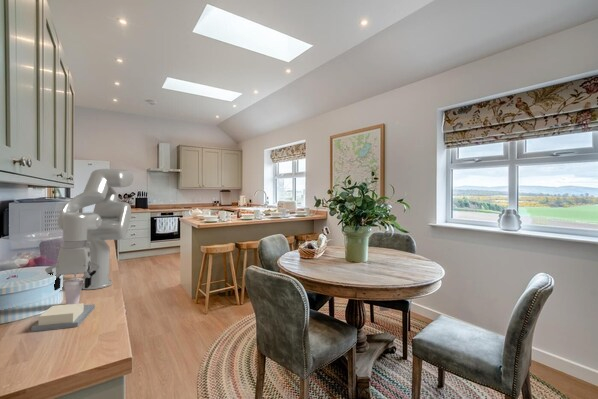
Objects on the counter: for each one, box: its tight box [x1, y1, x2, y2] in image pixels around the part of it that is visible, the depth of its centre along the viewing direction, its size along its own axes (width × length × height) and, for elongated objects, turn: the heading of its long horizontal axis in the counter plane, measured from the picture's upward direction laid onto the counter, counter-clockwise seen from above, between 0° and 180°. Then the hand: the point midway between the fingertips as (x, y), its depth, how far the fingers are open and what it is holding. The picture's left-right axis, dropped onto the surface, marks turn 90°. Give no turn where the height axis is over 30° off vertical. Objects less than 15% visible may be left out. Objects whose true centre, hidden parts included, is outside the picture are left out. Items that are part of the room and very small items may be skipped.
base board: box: [30, 302, 96, 333], centre depth 95 cm, size 16×12×4 cm
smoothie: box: [62, 274, 84, 305], centre depth 107 cm, size 6×6×14 cm
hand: (72, 288), depth 107 cm, fingers open, 9 cm apart
